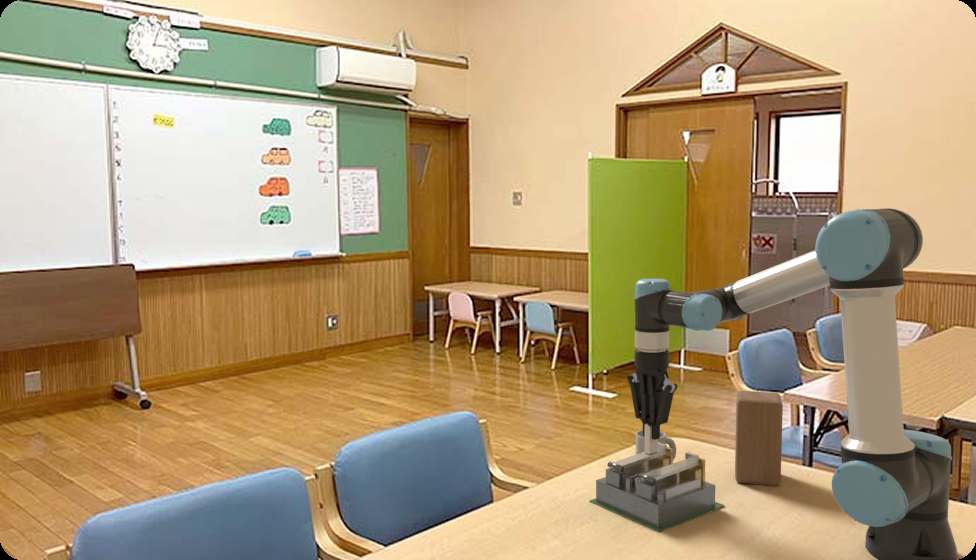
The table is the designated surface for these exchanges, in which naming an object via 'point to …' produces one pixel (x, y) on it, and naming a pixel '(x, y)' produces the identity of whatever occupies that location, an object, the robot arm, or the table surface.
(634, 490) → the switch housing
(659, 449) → the silver long flat bar
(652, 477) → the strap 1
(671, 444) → the cup
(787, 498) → the table surface
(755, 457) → the wooden block
